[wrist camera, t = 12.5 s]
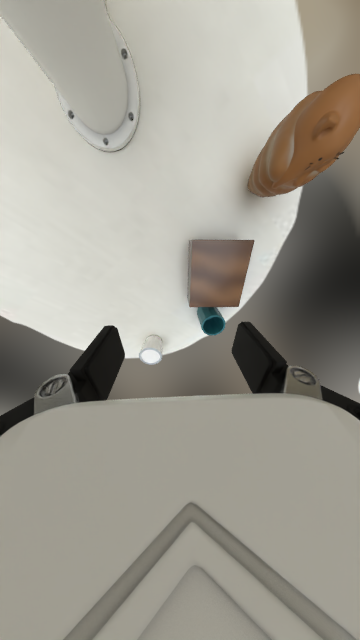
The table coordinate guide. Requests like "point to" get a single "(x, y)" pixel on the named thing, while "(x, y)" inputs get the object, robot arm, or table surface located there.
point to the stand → (217, 272)
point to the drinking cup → (210, 320)
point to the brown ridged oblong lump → (308, 139)
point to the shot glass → (151, 350)
